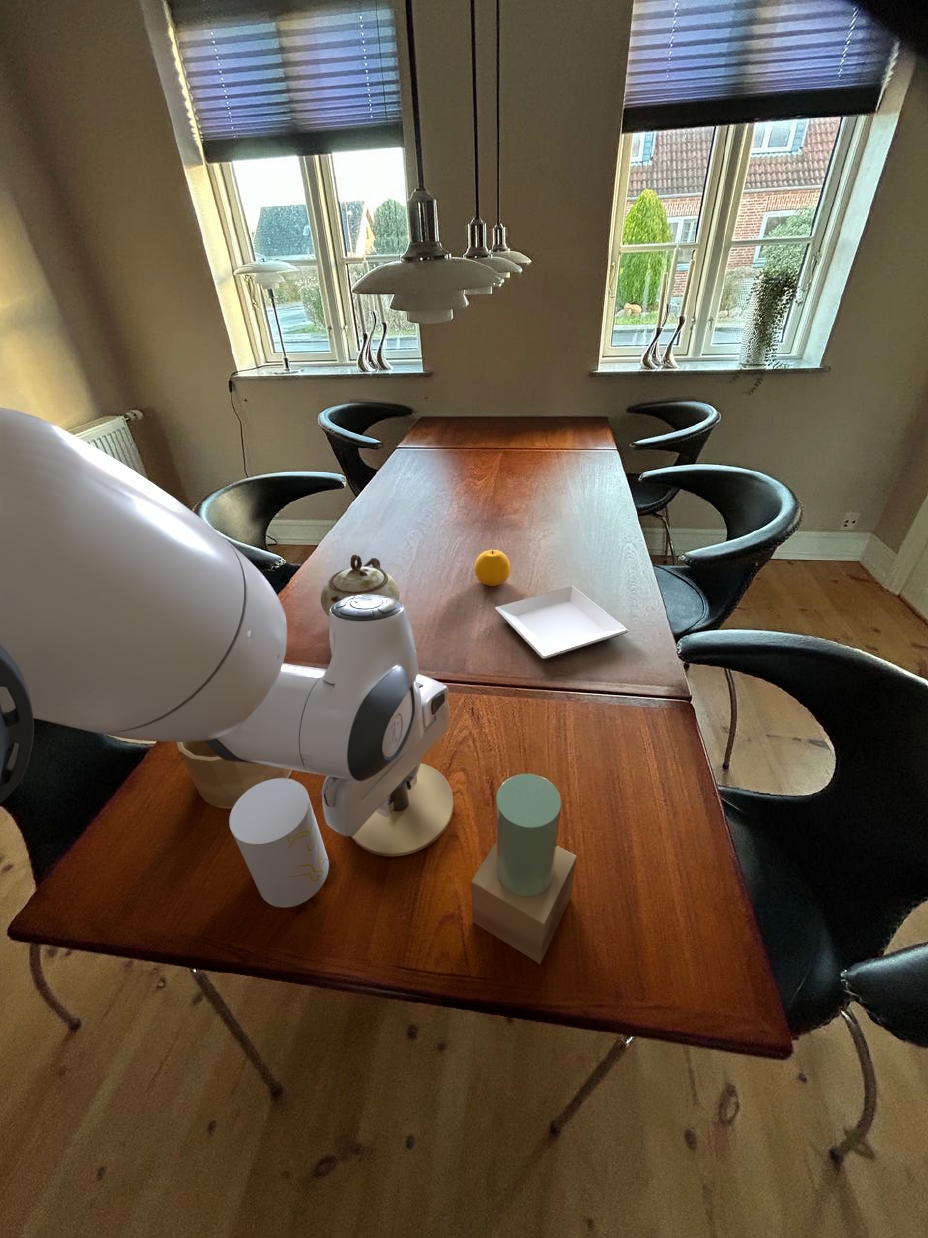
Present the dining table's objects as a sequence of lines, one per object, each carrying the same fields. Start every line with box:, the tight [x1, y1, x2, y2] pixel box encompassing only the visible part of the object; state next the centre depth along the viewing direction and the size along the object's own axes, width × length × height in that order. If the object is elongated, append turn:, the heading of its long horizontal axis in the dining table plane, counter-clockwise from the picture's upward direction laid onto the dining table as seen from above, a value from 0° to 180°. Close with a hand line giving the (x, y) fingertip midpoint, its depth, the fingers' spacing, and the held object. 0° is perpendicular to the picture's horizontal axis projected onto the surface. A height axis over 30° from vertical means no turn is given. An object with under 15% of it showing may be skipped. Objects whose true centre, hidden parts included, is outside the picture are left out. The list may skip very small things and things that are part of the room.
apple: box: [473, 549, 511, 587], centre depth 116 cm, size 8×8×8 cm
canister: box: [495, 773, 562, 897], centre depth 51 cm, size 6×6×11 cm
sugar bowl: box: [320, 554, 401, 617], centre depth 102 cm, size 20×15×15 cm
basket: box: [175, 741, 293, 810], centre depth 73 cm, size 13×13×10 cm
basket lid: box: [350, 762, 454, 857], centre depth 68 cm, size 14×14×6 cm
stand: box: [470, 842, 578, 965], centre depth 56 cm, size 8×8×8 cm
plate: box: [494, 585, 630, 660], centre depth 103 cm, size 19×19×2 cm
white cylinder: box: [228, 778, 330, 909], centre depth 59 cm, size 8×8×12 cm
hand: (397, 797), depth 68 cm, fingers open, 3 cm apart
